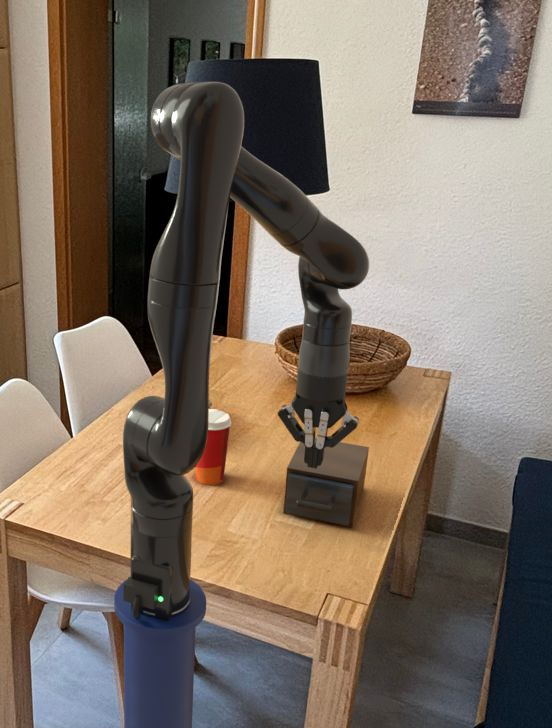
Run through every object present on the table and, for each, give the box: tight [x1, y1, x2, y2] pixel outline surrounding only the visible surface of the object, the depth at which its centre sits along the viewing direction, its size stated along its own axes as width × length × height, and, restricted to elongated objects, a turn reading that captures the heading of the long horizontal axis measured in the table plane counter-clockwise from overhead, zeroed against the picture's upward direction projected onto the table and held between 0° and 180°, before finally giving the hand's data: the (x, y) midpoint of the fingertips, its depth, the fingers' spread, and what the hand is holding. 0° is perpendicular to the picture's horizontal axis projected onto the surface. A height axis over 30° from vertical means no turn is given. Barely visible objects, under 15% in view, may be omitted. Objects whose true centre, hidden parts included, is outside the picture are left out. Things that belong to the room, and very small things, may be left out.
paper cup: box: [194, 408, 233, 486], centre depth 154 cm, size 8×8×14 cm
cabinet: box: [282, 437, 370, 528], centre depth 146 cm, size 15×13×10 cm
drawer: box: [284, 473, 354, 527], centre depth 143 cm, size 18×11×8 cm, turn 156°
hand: (313, 465), depth 126 cm, fingers closed
